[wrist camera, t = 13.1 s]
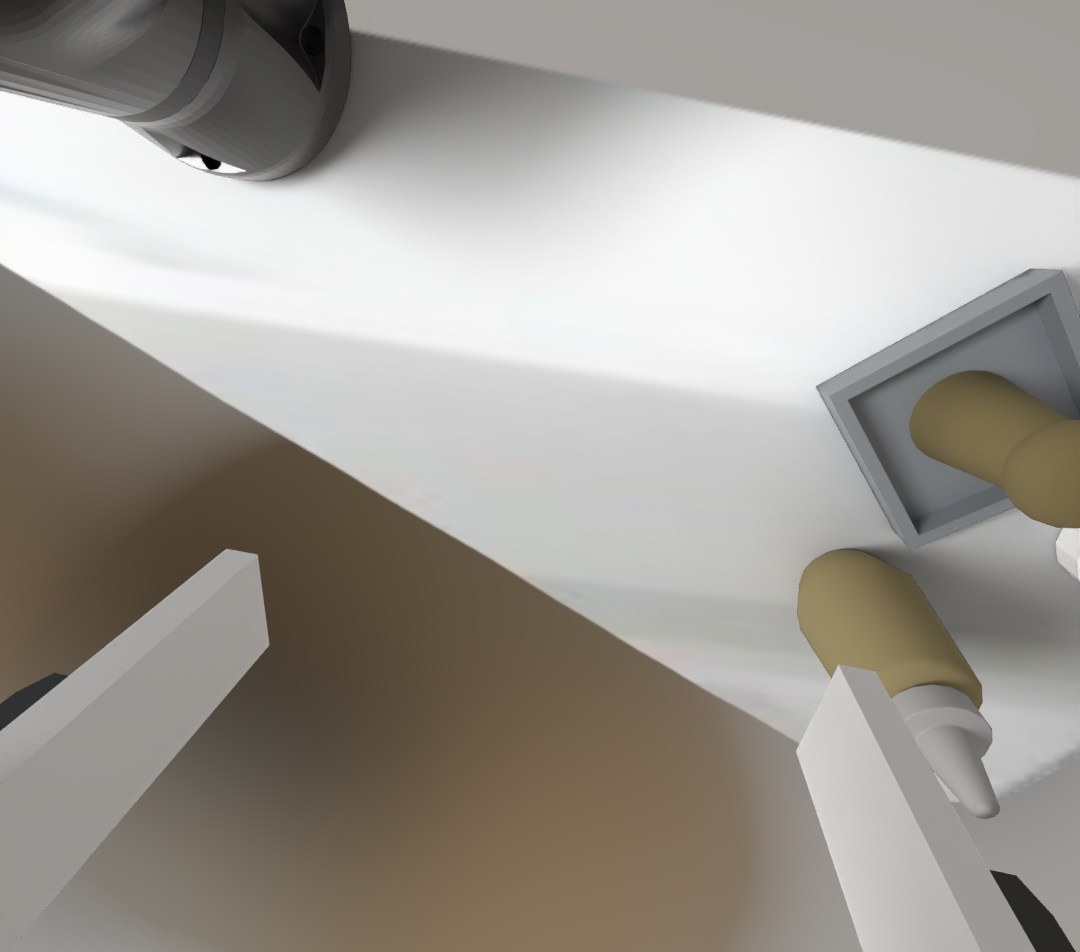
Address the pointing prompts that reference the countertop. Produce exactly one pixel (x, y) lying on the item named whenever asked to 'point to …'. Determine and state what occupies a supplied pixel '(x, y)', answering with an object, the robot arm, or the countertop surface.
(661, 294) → the countertop surface
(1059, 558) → the white cup
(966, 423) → the cork
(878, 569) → the squeeze bottle
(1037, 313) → the tray
